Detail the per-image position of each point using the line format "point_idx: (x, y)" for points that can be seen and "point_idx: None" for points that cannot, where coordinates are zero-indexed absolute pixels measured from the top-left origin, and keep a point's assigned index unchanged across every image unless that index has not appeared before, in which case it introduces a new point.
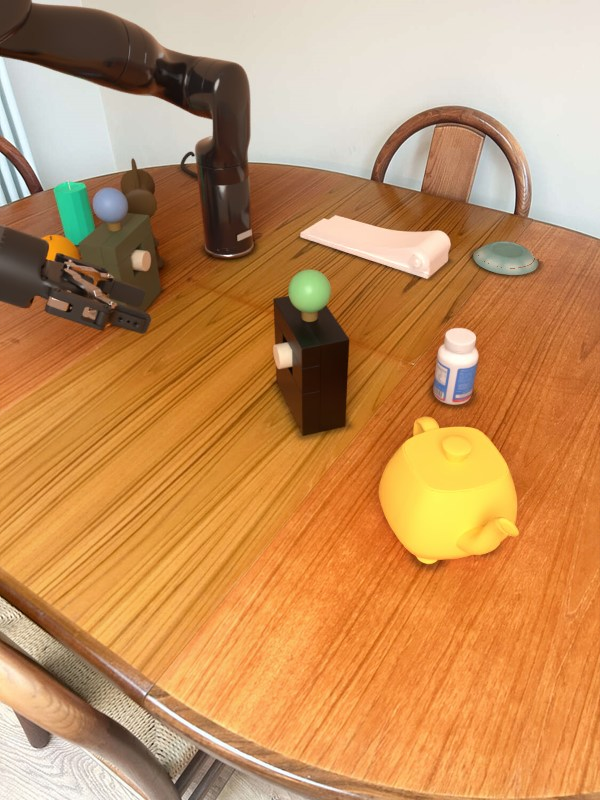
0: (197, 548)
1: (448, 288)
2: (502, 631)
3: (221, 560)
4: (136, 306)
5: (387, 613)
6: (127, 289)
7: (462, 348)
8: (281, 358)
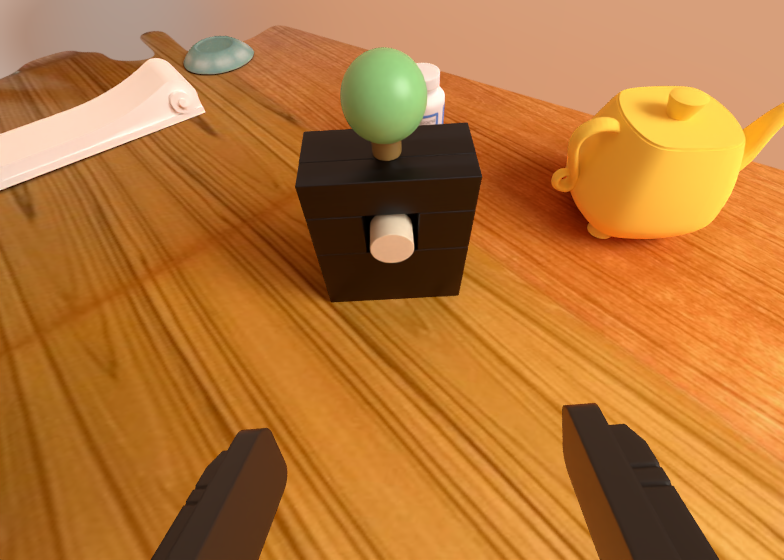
0: (689, 487)
1: (236, 103)
2: (746, 203)
3: (708, 452)
4: (283, 484)
5: (750, 280)
6: (240, 503)
7: (439, 79)
8: (412, 239)
